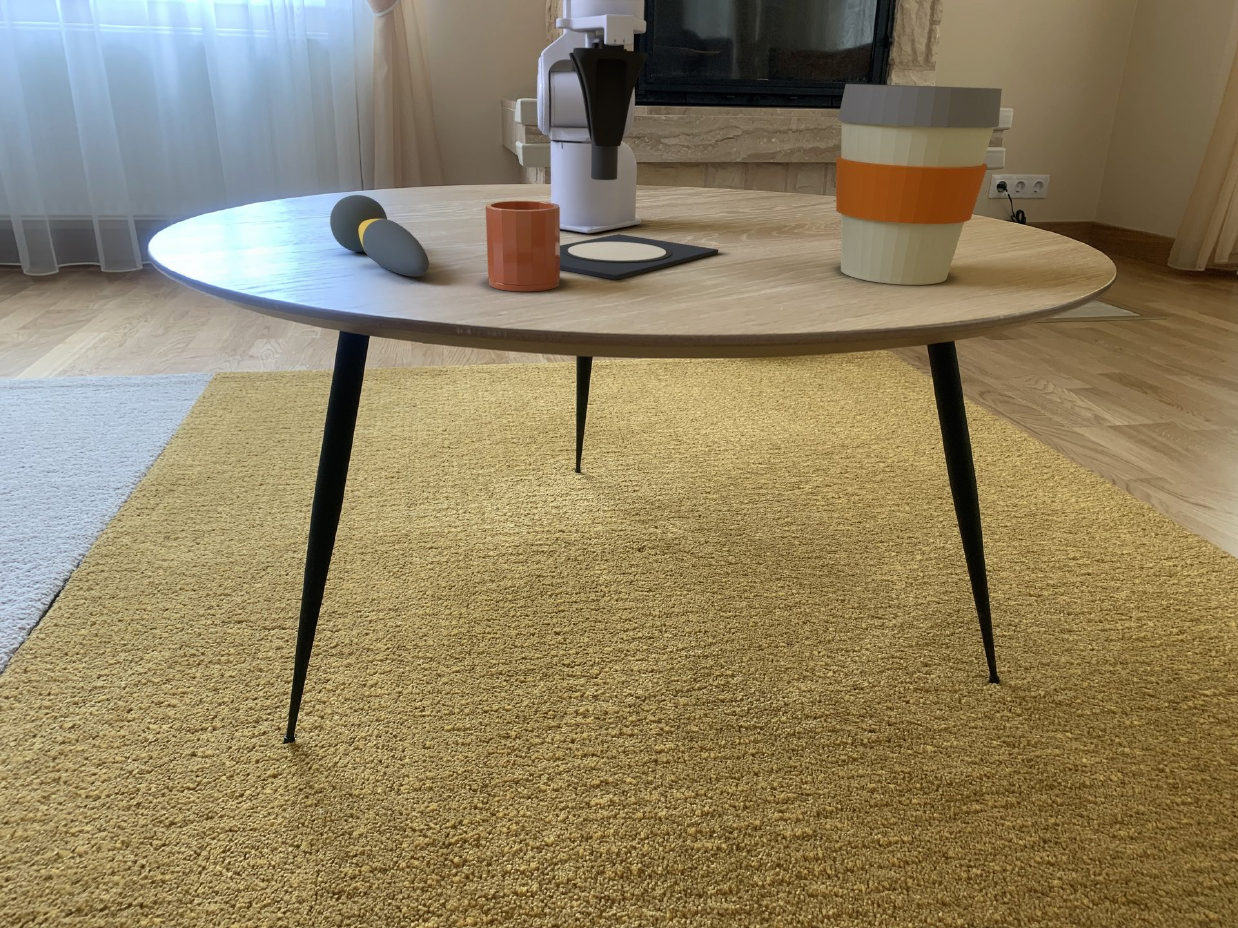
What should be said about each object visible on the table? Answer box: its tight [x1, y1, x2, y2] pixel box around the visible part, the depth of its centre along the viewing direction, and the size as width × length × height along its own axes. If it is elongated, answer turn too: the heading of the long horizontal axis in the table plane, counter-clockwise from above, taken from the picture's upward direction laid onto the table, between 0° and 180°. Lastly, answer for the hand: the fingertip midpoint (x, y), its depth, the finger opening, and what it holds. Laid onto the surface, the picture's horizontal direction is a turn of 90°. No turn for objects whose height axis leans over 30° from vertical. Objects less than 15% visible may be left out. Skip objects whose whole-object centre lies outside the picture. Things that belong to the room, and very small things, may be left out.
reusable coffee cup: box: [835, 83, 1003, 286], centre depth 73 cm, size 13×13×15 cm
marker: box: [591, 136, 618, 180], centre depth 71 cm, size 2×2×9 cm
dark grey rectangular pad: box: [560, 233, 719, 281], centre depth 80 cm, size 16×12×1 cm
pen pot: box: [485, 200, 561, 293], centre depth 68 cm, size 6×6×6 cm
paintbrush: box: [329, 194, 430, 277], centre depth 74 cm, size 20×5×5 cm, turn 38°
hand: (605, 144), depth 72 cm, fingers closed on marker, 2 cm apart
